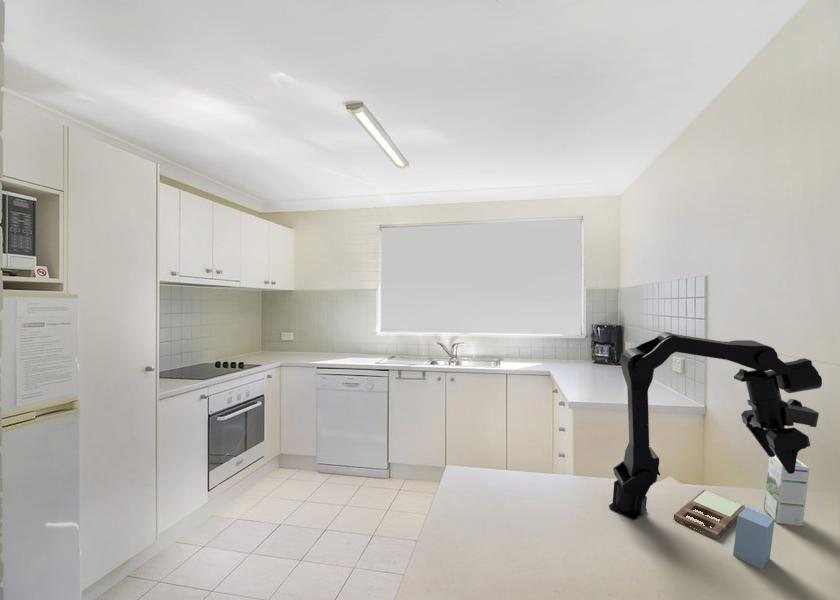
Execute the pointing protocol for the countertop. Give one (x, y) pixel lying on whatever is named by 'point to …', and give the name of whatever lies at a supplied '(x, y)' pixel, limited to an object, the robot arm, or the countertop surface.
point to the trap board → (710, 513)
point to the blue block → (753, 537)
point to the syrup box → (786, 492)
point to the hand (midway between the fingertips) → (781, 464)
